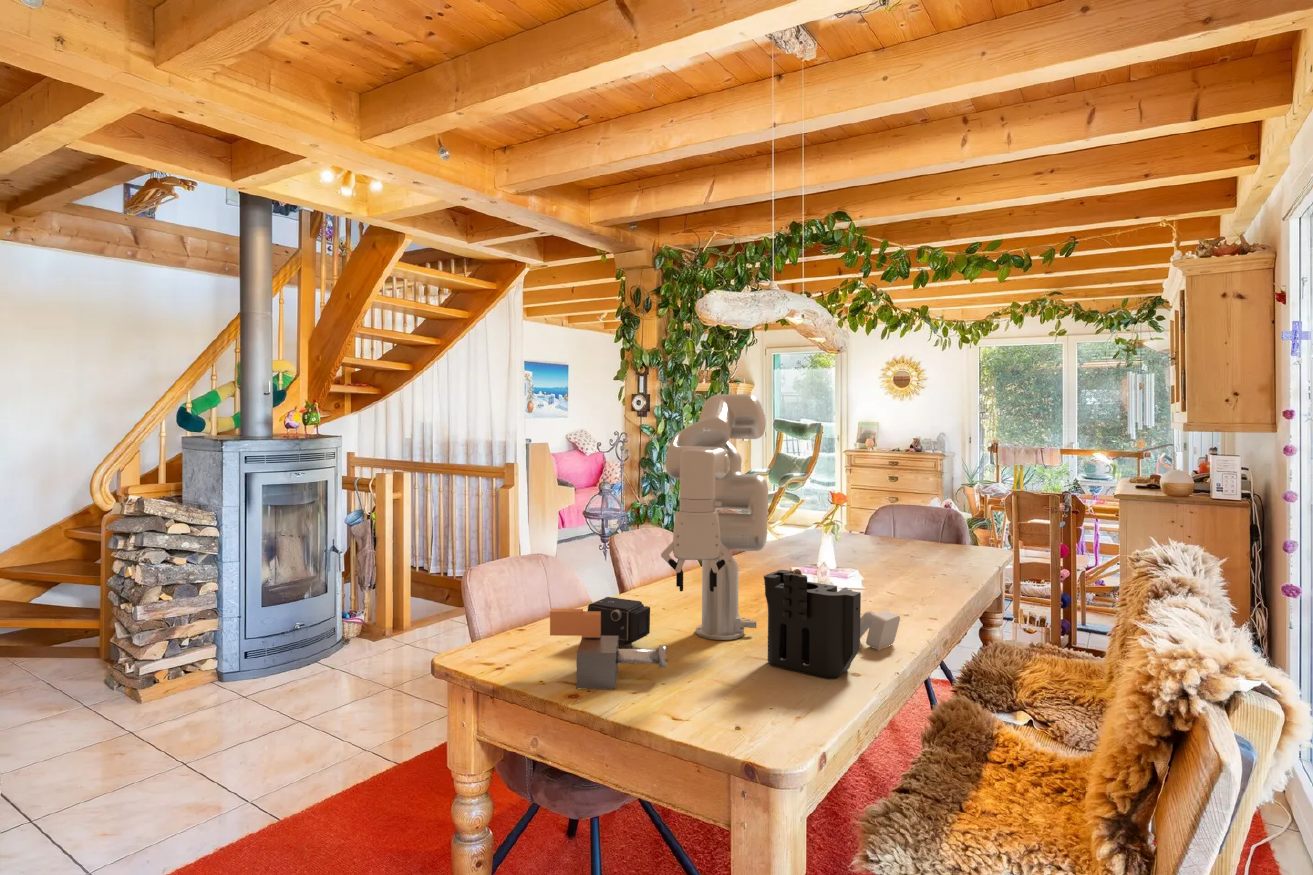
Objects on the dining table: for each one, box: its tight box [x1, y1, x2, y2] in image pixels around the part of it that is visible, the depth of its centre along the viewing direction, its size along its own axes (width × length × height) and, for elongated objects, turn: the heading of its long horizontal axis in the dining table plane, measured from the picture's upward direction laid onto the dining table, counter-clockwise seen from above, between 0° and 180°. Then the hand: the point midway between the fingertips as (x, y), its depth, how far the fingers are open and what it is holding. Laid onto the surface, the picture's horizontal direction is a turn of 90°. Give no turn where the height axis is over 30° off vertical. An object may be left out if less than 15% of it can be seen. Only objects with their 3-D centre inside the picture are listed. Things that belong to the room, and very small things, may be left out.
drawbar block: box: [576, 636, 619, 690], centre depth 158 cm, size 8×12×8 cm, turn 0°
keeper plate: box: [549, 608, 601, 638], centre depth 163 cm, size 11×3×6 cm, turn 90°
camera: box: [587, 596, 651, 649], centre depth 182 cm, size 11×11×15 cm
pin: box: [616, 644, 667, 669], centre depth 158 cm, size 16×5×5 cm, turn 90°
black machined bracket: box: [763, 569, 862, 680], centre depth 164 cm, size 12×21×22 cm, turn 54°
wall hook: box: [860, 609, 901, 651], centre depth 184 cm, size 8×10×10 cm
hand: (696, 589), depth 157 cm, fingers open, 5 cm apart
